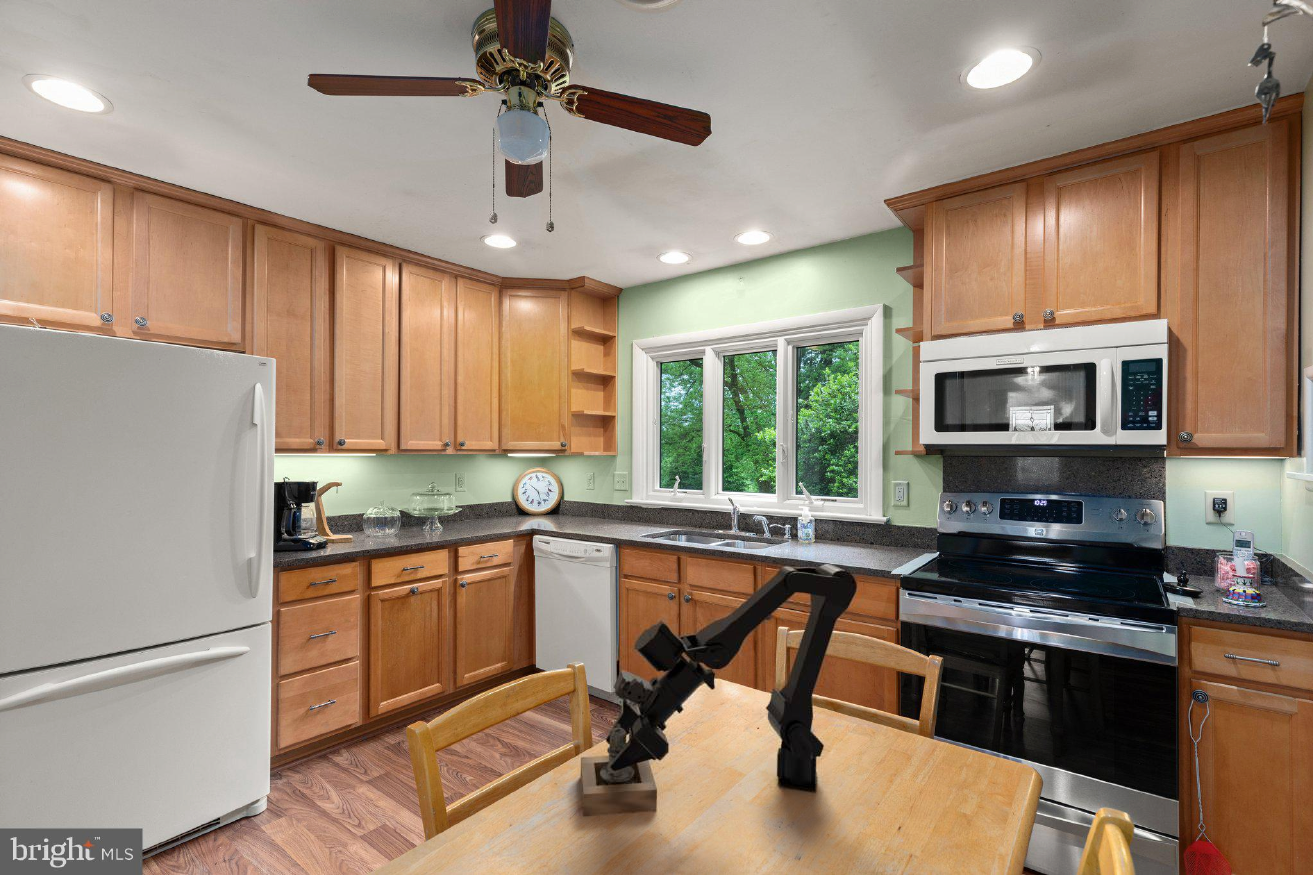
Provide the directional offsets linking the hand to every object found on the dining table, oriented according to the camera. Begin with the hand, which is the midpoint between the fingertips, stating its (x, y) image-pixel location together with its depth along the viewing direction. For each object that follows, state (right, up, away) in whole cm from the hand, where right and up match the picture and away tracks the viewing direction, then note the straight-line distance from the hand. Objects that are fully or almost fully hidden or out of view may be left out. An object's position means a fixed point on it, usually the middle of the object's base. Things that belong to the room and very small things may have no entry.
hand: (609, 755), depth 108 cm
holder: (+1, -7, 0) cm, 7 cm away
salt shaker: (+1, -7, 0) cm, 7 cm away
